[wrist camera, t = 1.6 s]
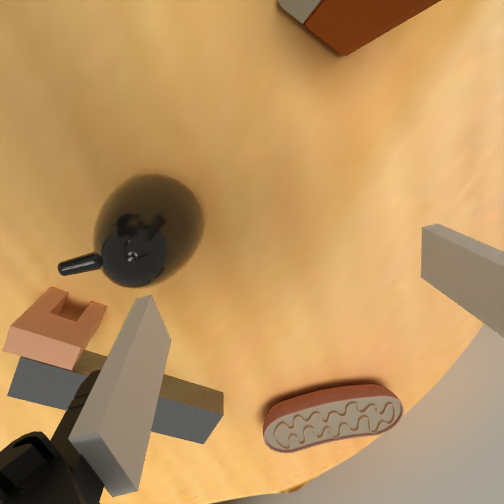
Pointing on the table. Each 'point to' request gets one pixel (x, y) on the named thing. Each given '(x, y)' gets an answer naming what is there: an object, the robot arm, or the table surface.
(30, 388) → the rail
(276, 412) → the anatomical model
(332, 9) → the alarm clock
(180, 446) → the table surface
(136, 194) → the pump dispenser
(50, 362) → the clip
